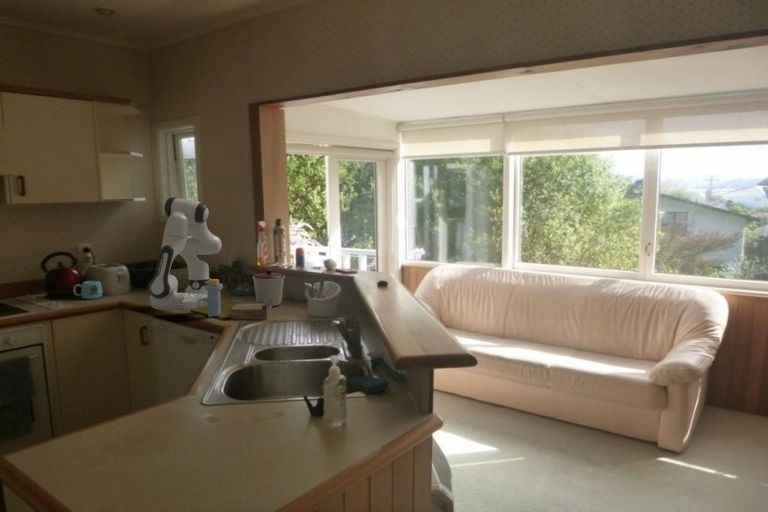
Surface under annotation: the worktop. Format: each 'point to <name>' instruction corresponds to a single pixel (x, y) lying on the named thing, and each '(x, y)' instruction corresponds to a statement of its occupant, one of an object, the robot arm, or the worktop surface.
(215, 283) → the cargo cube
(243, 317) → the dock
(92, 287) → the mug
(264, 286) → the canister
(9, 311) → the worktop surface
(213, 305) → the cargo post
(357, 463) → the worktop surface
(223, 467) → the worktop surface
